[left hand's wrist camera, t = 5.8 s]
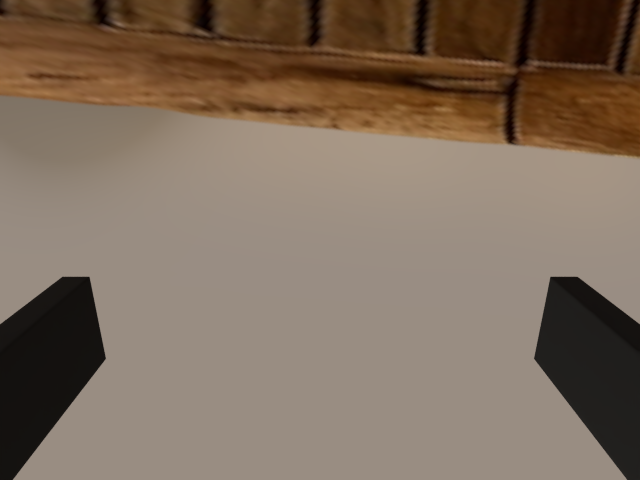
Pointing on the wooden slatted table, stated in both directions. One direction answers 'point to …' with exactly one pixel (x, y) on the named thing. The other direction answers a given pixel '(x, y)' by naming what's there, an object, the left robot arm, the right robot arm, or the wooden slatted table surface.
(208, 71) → the wooden slatted table surface
